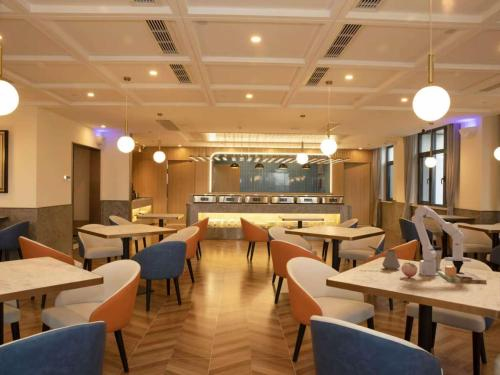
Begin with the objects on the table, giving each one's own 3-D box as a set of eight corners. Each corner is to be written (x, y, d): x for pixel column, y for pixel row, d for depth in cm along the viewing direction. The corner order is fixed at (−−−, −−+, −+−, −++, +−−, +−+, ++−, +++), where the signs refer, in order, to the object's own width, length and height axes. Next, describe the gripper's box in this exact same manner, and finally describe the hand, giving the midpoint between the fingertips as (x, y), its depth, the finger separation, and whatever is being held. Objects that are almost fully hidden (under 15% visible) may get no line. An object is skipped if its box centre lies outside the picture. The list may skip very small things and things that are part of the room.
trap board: (449, 281, 234) (449, 278, 234) (437, 273, 257) (437, 270, 257) (486, 283, 231) (486, 280, 231) (471, 275, 254) (471, 272, 254)
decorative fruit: (420, 278, 242) (420, 262, 242) (411, 279, 238) (412, 263, 238) (407, 275, 250) (407, 259, 250) (398, 276, 246) (399, 260, 246)
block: (447, 275, 243) (447, 267, 243) (444, 273, 248) (444, 265, 248) (456, 275, 242) (456, 267, 242) (453, 274, 247) (453, 266, 247)
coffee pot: (399, 268, 274) (400, 246, 274) (400, 271, 263) (400, 248, 264) (367, 265, 282) (368, 244, 282) (366, 268, 271) (367, 246, 271)
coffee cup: (444, 269, 271) (444, 247, 271) (429, 269, 273) (429, 247, 273) (440, 267, 280) (440, 245, 280) (426, 266, 282) (426, 245, 282)
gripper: (447, 251, 242) (447, 273, 241) (473, 252, 239) (472, 274, 239) (443, 249, 249) (443, 271, 248) (468, 250, 246) (468, 272, 246)
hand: (457, 273), depth 244 cm, fingers closed
